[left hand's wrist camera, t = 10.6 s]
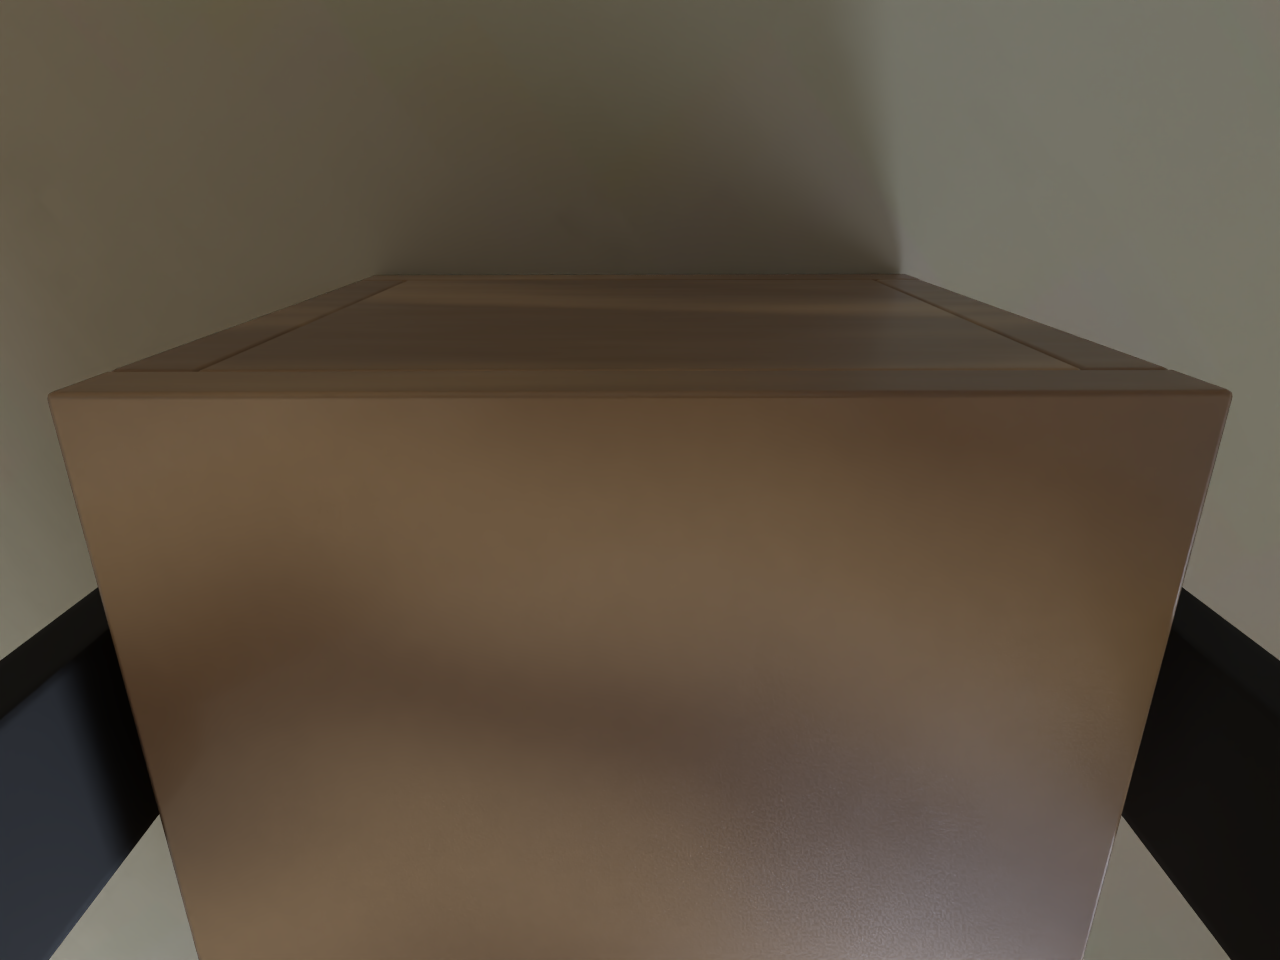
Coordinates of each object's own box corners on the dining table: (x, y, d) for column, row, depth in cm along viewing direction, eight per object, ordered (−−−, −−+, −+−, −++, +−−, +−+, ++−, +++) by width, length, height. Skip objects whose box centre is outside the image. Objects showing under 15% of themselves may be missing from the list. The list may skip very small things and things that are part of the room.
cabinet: (826, 980, 23) (944, 1485, 14) (455, 980, 23) (339, 1485, 14) (905, 273, 16) (1237, 390, 7) (373, 274, 16) (42, 392, 7)
